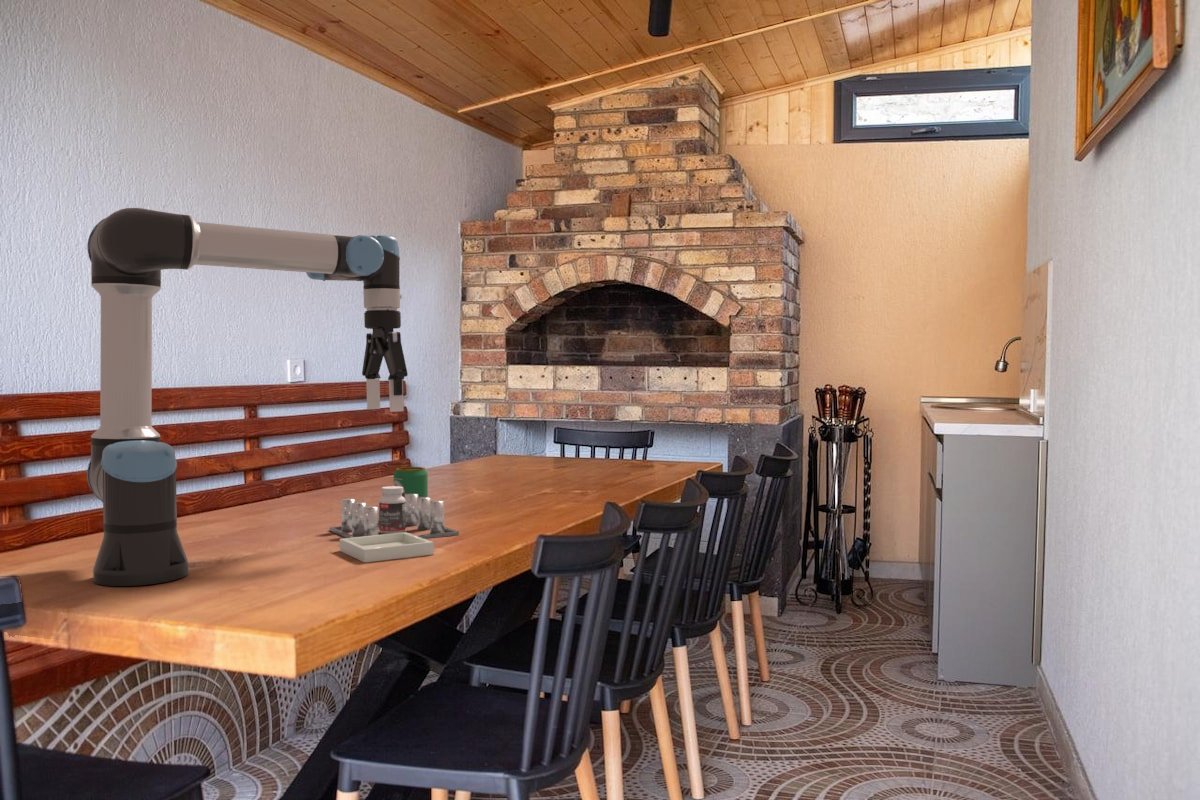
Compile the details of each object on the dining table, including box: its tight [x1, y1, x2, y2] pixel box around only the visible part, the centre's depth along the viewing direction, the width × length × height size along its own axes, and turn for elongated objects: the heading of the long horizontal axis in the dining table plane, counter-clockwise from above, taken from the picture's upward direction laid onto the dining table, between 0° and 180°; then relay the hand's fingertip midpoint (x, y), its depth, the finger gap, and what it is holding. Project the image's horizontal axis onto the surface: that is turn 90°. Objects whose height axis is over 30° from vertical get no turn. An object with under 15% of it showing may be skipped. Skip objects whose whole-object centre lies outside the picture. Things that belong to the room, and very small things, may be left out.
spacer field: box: [329, 494, 460, 539], centre depth 222 cm, size 22×22×7 cm
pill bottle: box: [378, 485, 407, 534], centre depth 222 cm, size 6×6×10 cm
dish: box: [339, 531, 435, 563], centre depth 198 cm, size 14×14×2 cm
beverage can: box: [393, 466, 429, 498], centre depth 242 cm, size 8×8×12 cm
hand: (384, 410), depth 214 cm, fingers open, 13 cm apart
